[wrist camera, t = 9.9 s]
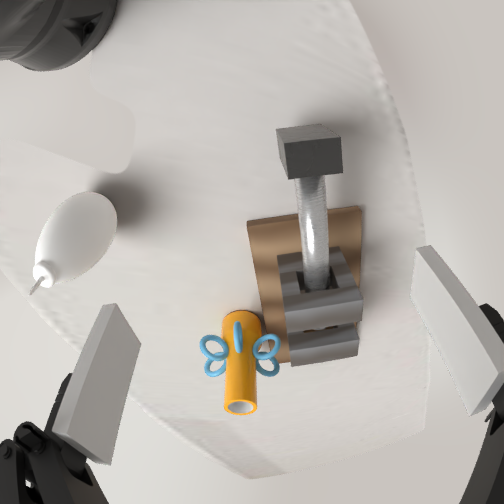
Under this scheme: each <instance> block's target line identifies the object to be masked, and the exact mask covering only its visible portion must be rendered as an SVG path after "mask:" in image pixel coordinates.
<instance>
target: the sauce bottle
mask: <svg viewBox="0 0 504 504" xmlns="http://www.w3.org/2000/svg"><path fill="white" fill-rule="evenodd" d="M116 228H117V214H116V211H115V208H114V206H113V204H112V203H111V202H110V201H109V200H108V199H107V198H106V197H105V196H103V195H101V194H98V193H95V192H83V193H79V194H76V195H74V196H72V197H70V198H68V199H67V200H65V201H64V202H63V203H62V204H61V205H60V206H59V207H58V208H57V209H56V210H55V211H54V212H53V213H52V214H51V216H50V217H49V219H48V220H47V222H46V224H45V226H44V228H43V230H42V232H41V235H40V237H39V240H38V244H37V248H36V254H35V266H34V268H33V276H34V278H35V280H36V283H35V284H34V286H33V287H32V289H31V290H30V292H29V296H30V295H31V294H32V293H33V292H34V291H35V290H36V289H37V288H38V286H39V285H42V286H44V287H47V288H48V287H51V286H53V285H54V284H59V283H64V282H68V281H70V280H73V279H75V278H77V277H79V276H81V275H82V274H84V273H85V272H87V271H88V270H90V269H91V268H92V267H93V266H94V265H95V264H96V263H97V262H98V261H99V260H100V259H101V258H102V257H103V256H104V254H105V253H106V252H107V250H108V248H109V247H110V245H111V243H112V241H113V239H114V236H115V233H116Z"/></svg>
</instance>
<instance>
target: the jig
mask: <svg viewBox="0 0 504 504" xmlns="http://www.w3.org/2000/svg"><path fill="white" fill-rule="evenodd" d="M361 215H362V211H361V210H360V208H359V207H358V206H354V207H346V208H338V209H330V210H327V219H328V240H329V274H330V290H324V291H318V292H311V293H305V283H304V271H303V259H302V247H301V236H300V226H299V216H298V214H293V215H286V216H279V217H272V218H265V219H258V220H252V221H247V231H248V236H249V241H250V247H251V252H252V257H253V263H254V268H255V273H256V279H257V284H258V289H259V294H260V300H261V305H262V310H263V316H264V321H265V326H266V331H267V334H275V335H277V336H278V337H279V338H280V340H281V347H280V349H279V351H278V352H277V353H276V354H275V355H274V357H275V358H276V359H277V361H278V363H286V362H291V367H293V366H300V365H307V364H314V363H320V362H326V361H332V360H337V359H343V358H348V357H353V356H357V355H358V347H359V337H358V334H357V331H356V324H357V322H358V321H361V320H362V310H363V298H362V295H361V293H360V291H359V283H360V263H361ZM329 326H333V329H327V330H321V331H315V332H308V333H304V332H303V331H304V330H311V329H317V328H323V327H329ZM268 342H269V347H270V351H271V350H272V349H273V348H274V346H275V341H274V340H273V339H268Z"/></svg>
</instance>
